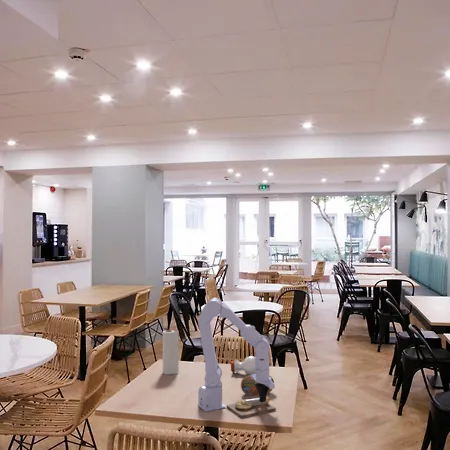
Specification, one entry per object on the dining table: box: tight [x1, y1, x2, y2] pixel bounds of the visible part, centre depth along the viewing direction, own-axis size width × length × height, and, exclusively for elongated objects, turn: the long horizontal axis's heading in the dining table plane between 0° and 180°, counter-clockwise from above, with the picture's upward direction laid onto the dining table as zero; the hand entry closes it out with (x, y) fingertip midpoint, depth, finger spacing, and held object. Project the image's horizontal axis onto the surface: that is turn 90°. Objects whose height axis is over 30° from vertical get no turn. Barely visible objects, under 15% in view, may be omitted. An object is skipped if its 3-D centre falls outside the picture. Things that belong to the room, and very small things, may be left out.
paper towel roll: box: [162, 329, 180, 375], centre depth 238 cm, size 7×6×21 cm
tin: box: [240, 374, 275, 397], centre depth 208 cm, size 15×3×8 cm, turn 105°
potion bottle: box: [230, 355, 256, 376], centre depth 236 cm, size 9×10×15 cm
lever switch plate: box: [226, 403, 277, 419], centre depth 190 cm, size 16×12×1 cm
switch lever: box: [234, 396, 270, 410], centre depth 191 cm, size 14×7×2 cm, turn 110°
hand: (262, 401), depth 192 cm, fingers closed, pressing on switch lever
